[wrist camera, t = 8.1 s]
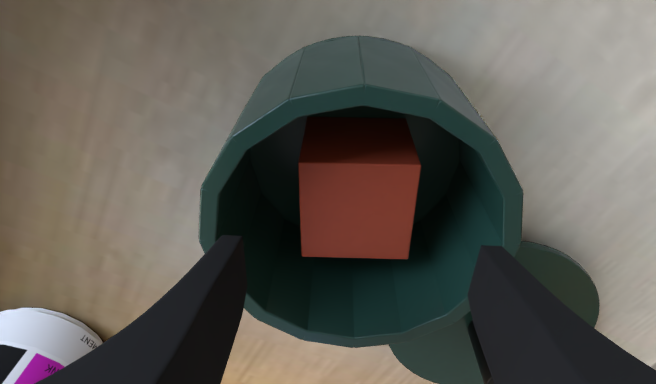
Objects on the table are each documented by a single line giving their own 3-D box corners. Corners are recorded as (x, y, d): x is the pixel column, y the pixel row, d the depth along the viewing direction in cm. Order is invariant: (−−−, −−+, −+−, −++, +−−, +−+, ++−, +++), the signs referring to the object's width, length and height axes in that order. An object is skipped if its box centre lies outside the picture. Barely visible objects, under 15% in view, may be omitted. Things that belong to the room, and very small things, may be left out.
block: (406, 118, 18) (422, 165, 14) (396, 201, 20) (408, 260, 17) (306, 116, 18) (298, 162, 14) (308, 199, 20) (301, 257, 17)
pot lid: (634, 294, 23) (694, 369, 19) (485, 394, 29) (508, 470, 25) (482, 194, 20) (516, 260, 16) (345, 327, 25) (346, 401, 21)
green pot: (521, 126, 18) (596, 209, 13) (376, 273, 23) (386, 379, 18) (320, -22, 16) (307, 4, 10) (201, 180, 20) (150, 272, 15)
